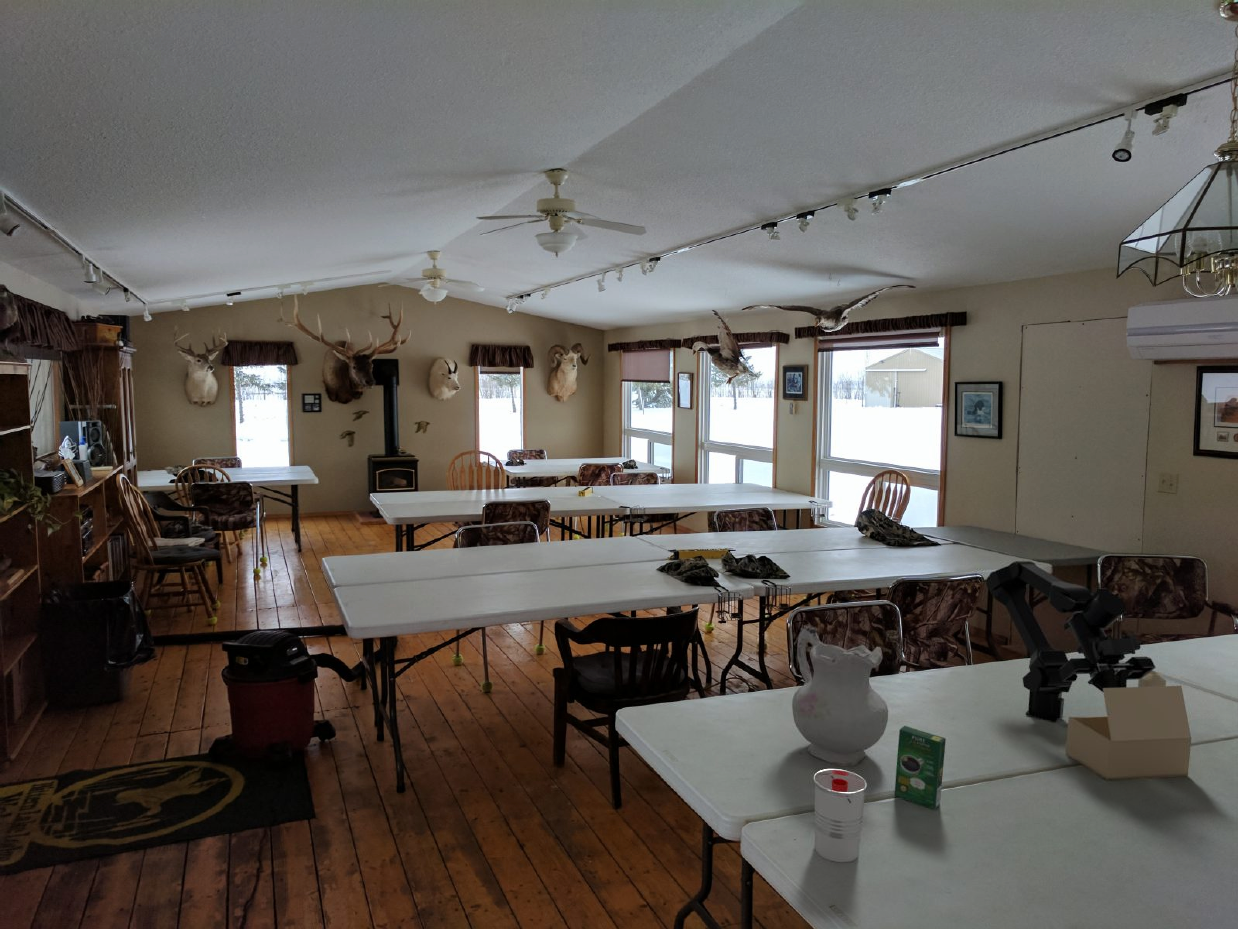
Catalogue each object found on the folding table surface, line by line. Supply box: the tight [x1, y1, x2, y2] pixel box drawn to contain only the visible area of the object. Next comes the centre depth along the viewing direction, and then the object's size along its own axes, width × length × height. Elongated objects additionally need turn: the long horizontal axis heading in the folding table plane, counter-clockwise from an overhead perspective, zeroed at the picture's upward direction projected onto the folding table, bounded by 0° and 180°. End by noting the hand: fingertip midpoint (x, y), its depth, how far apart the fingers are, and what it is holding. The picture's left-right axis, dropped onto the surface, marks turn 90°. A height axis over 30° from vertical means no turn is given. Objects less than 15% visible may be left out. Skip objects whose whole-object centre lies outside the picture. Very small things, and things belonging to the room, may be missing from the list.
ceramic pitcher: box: [791, 625, 889, 768], centre depth 176 cm, size 22×20×25 cm
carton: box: [1065, 715, 1192, 781], centre depth 173 cm, size 12×18×8 cm, turn 98°
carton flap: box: [1102, 685, 1192, 741], centre depth 168 cm, size 10×17×1 cm
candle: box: [1137, 670, 1167, 687], centre depth 202 cm, size 6×6×10 cm
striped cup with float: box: [812, 768, 868, 863], centre depth 138 cm, size 10×8×12 cm
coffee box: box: [893, 725, 947, 811], centre depth 156 cm, size 8×3×13 cm, turn 49°
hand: (1125, 707), depth 174 cm, fingers closed
